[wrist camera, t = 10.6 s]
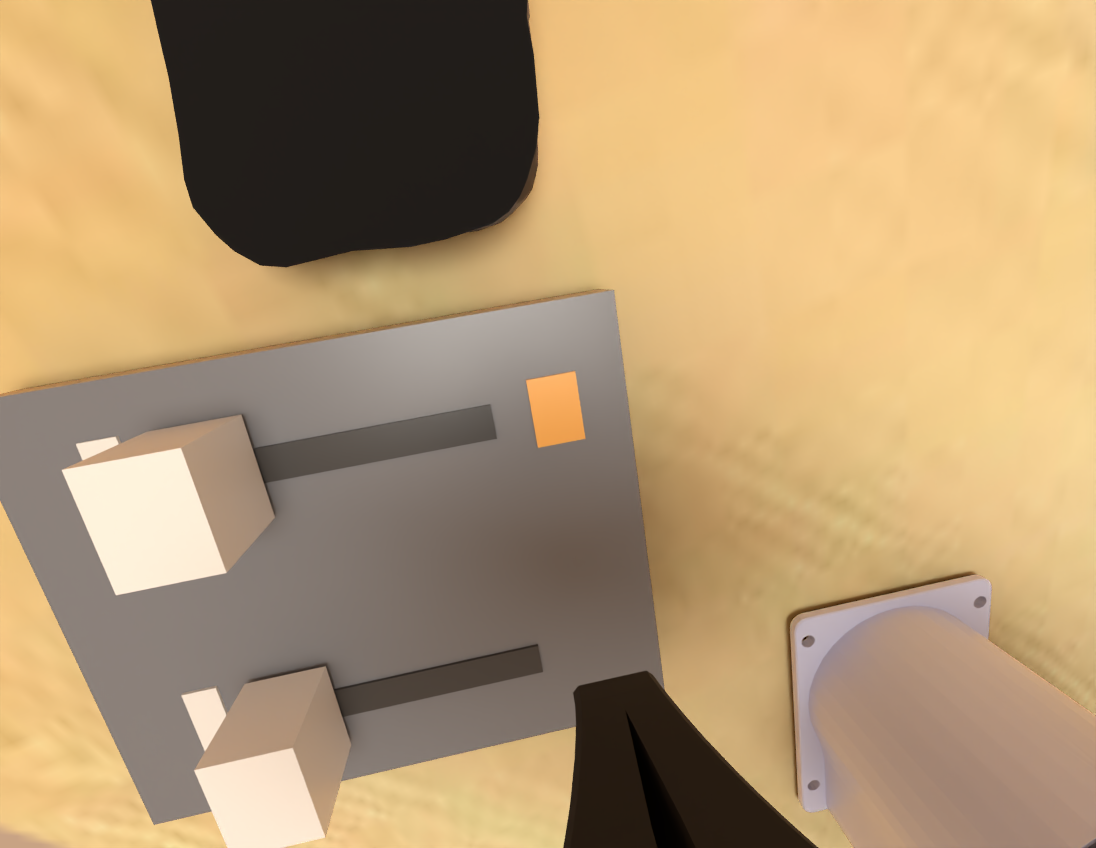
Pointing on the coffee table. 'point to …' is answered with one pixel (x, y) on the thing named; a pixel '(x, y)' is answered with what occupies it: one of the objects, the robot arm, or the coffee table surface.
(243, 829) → the block
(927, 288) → the coffee table surface
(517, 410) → the grey flat block
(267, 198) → the black sponge
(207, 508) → the block
